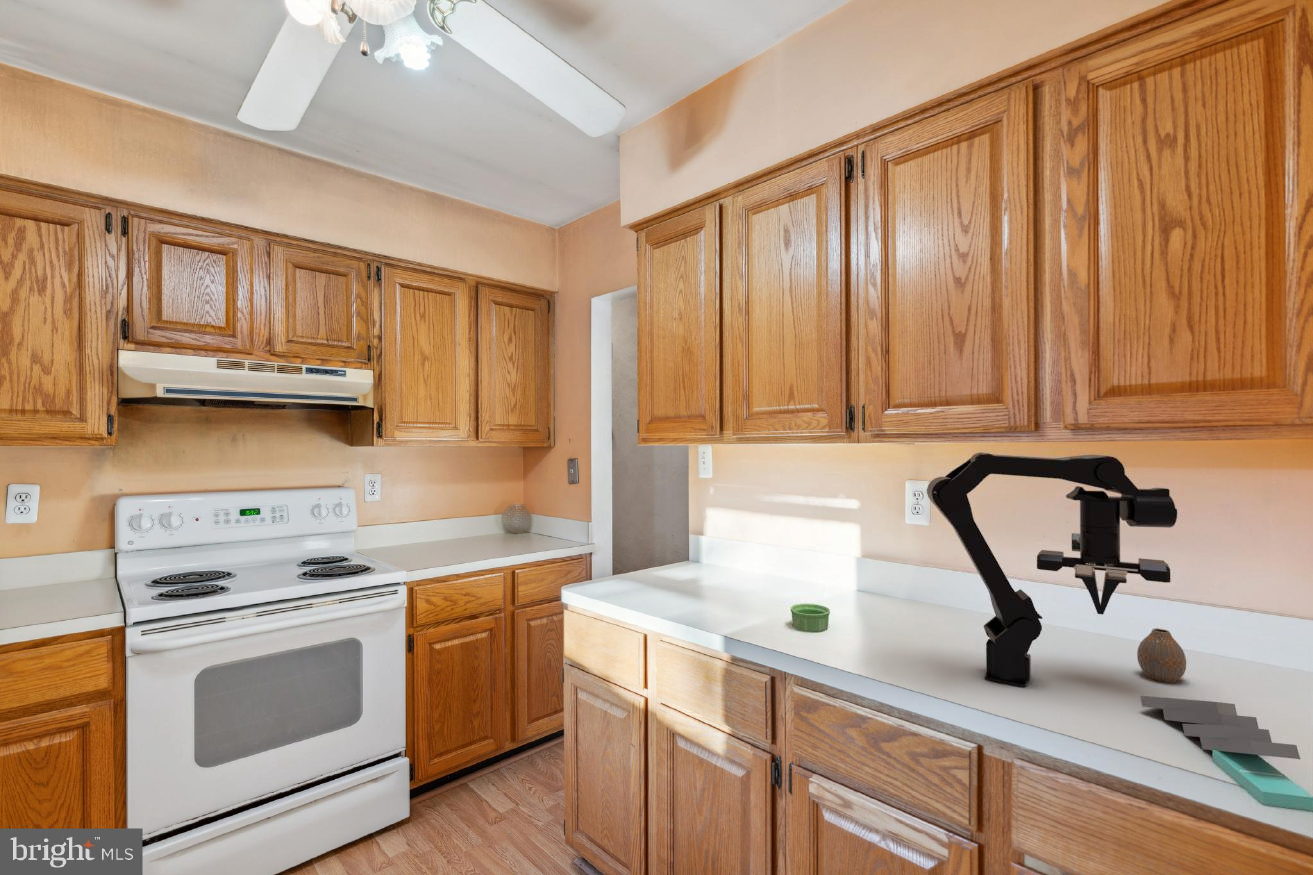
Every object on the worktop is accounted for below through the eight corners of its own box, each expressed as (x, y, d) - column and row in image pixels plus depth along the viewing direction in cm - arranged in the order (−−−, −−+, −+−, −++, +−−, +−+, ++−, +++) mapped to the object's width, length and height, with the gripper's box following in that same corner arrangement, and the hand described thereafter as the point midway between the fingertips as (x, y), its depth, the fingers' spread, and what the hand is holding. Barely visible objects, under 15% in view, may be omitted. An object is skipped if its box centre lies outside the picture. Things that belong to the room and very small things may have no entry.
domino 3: (1182, 723, 90) (1223, 725, 81) (1222, 727, 89) (1268, 729, 80) (1184, 735, 90) (1226, 738, 81) (1225, 739, 88) (1272, 743, 80)
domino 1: (1140, 695, 97) (1216, 701, 89) (1158, 697, 99) (1234, 703, 91) (1142, 706, 97) (1218, 713, 88) (1160, 708, 99) (1237, 715, 90)
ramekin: (782, 625, 144) (782, 606, 144) (811, 619, 148) (811, 601, 148) (808, 636, 136) (808, 616, 136) (838, 629, 140) (838, 610, 140)
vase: (1163, 670, 114) (1163, 623, 114) (1197, 685, 107) (1196, 636, 107) (1127, 671, 114) (1127, 624, 114) (1159, 686, 107) (1159, 637, 107)
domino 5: (1212, 749, 83) (1262, 791, 73) (1257, 754, 81) (1314, 797, 72) (1212, 761, 83) (1262, 804, 73) (1257, 766, 81) (1314, 811, 72)
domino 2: (1162, 708, 94) (1220, 713, 85) (1194, 711, 94) (1256, 717, 85) (1164, 719, 94) (1223, 726, 84) (1197, 722, 94) (1259, 729, 84)
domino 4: (1199, 736, 86) (1250, 740, 77) (1240, 740, 85) (1296, 744, 76) (1202, 749, 86) (1253, 754, 77) (1243, 753, 85) (1300, 759, 76)
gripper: (1164, 524, 108) (1164, 611, 108) (1040, 516, 119) (1041, 595, 119) (1170, 532, 99) (1171, 627, 99) (1036, 523, 110) (1036, 609, 110)
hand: (1100, 613), depth 107 cm, fingers closed
